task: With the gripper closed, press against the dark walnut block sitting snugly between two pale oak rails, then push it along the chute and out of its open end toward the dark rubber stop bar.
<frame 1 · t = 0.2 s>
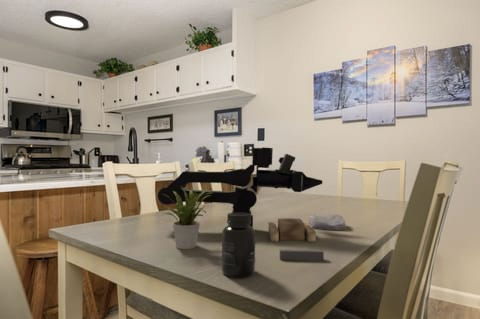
hand: (318, 181, 99), 16 cm above the table, tool horizontal, fingers open, 9 cm apart
supplement bottle: (238, 273, 62), on the table
house plant: (191, 246, 80), on the table
oak chute: (290, 236, 92), on the table
stone block: (327, 228, 105), on the table
walnut block: (290, 237, 92), on the table
stop bar: (301, 259, 71), on the table
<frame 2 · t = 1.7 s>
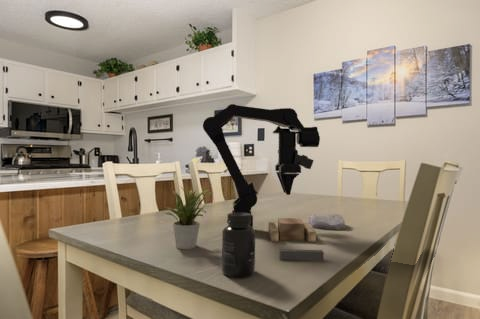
hand: (286, 193, 101), 12 cm above the table, tool pointing down, fingers open, 6 cm apart
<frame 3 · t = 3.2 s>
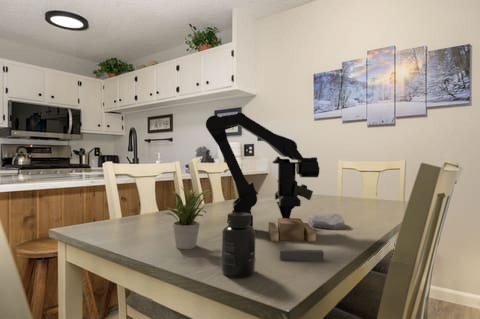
hand: (286, 224, 101), 2 cm above the table, tool pointing down, fingers closed
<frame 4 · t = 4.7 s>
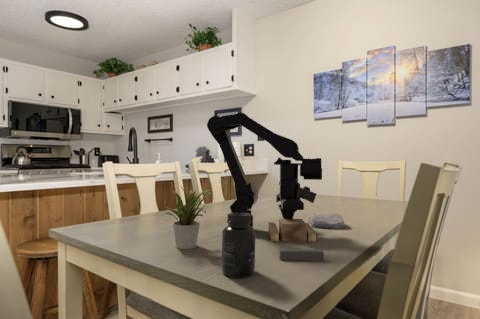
hand: (288, 228, 96), 2 cm above the table, tool pointing down, fingers closed
walnut block: (292, 238, 90), on the table, touching gripper
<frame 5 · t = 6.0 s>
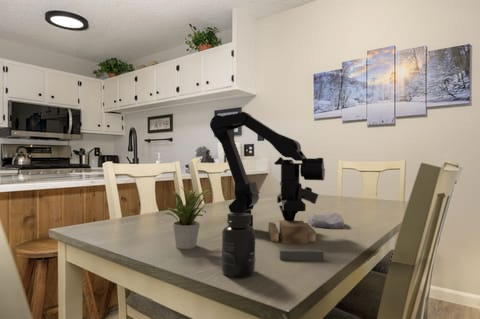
hand: (289, 229, 94), 2 cm above the table, tool pointing down, fingers closed
walnut block: (293, 240, 88), on the table
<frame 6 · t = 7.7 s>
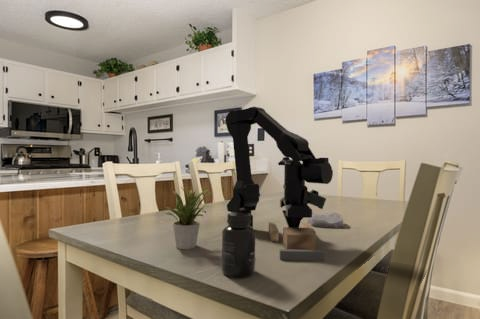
hand: (294, 237, 85), 2 cm above the table, tool pointing down, fingers closed
walnut block: (298, 250, 79), on the table
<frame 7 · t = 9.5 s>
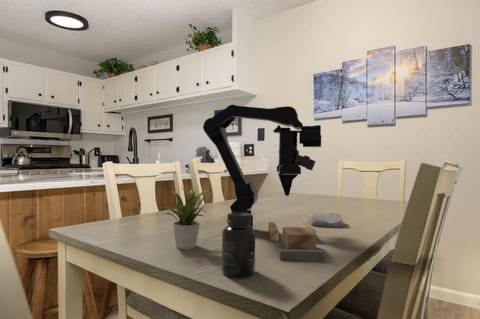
hand: (287, 195, 96), 12 cm above the table, tool pointing down, fingers closed
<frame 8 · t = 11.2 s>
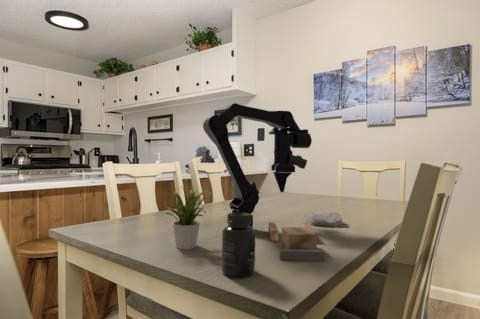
hand: (281, 192, 106), 12 cm above the table, tool pointing down, fingers closed
at the end: walnut block inside the target area (1.3 cm from its centre), on the table; walnut block moved 13.0 cm from its start; walnut block tilted 0° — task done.
